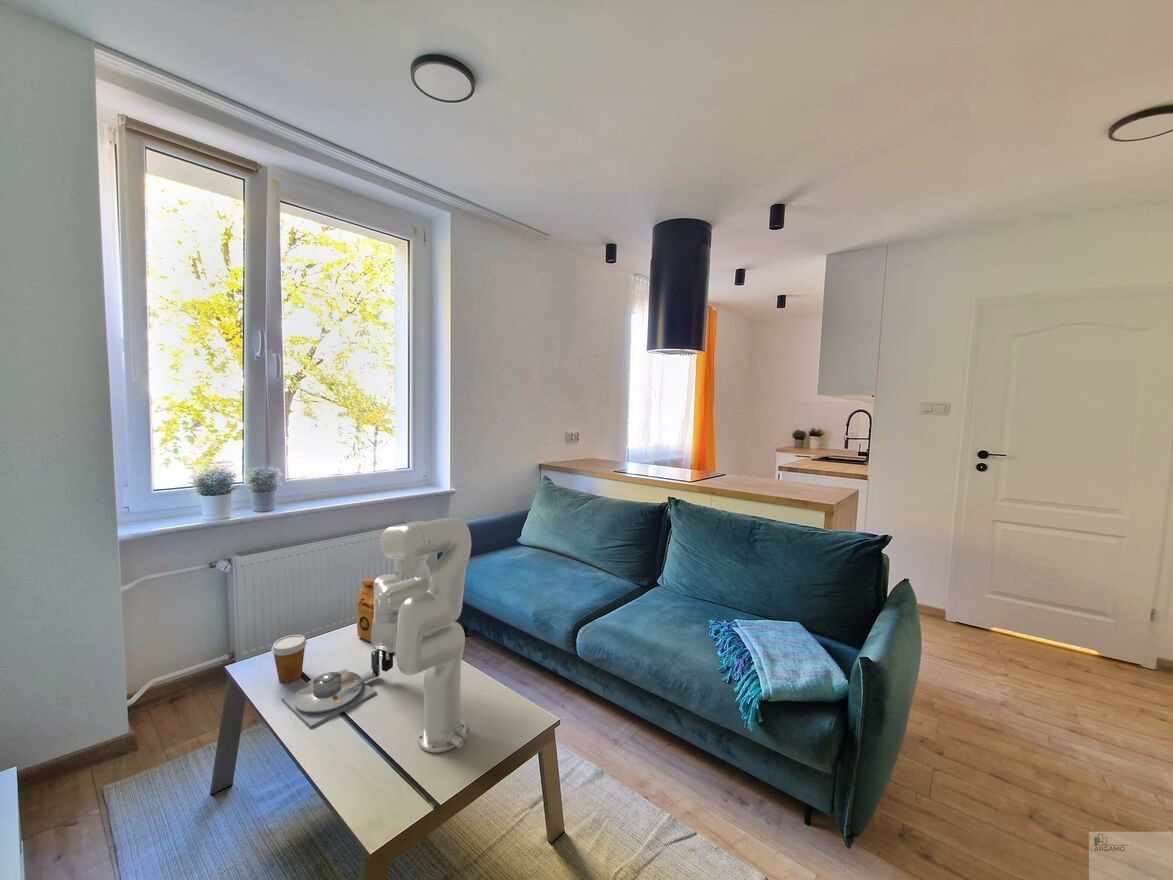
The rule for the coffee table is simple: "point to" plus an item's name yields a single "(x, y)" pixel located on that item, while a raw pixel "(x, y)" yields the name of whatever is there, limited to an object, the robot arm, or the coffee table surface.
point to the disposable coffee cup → (289, 657)
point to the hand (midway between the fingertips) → (387, 668)
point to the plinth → (318, 718)
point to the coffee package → (365, 610)
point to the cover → (327, 685)
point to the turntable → (343, 697)
